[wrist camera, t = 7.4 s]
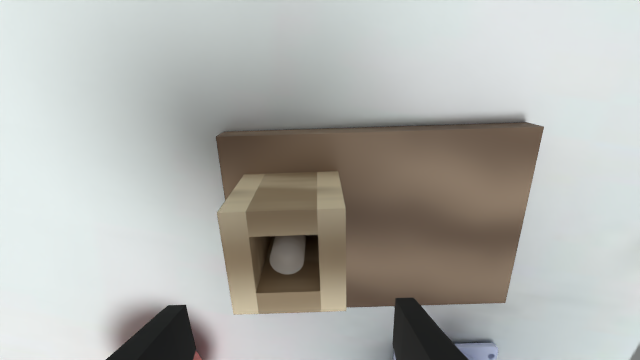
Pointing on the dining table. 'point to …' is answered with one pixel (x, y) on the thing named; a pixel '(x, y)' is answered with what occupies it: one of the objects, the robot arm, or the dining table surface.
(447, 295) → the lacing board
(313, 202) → the open-ended tan box
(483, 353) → the robot arm
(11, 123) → the dining table surface
